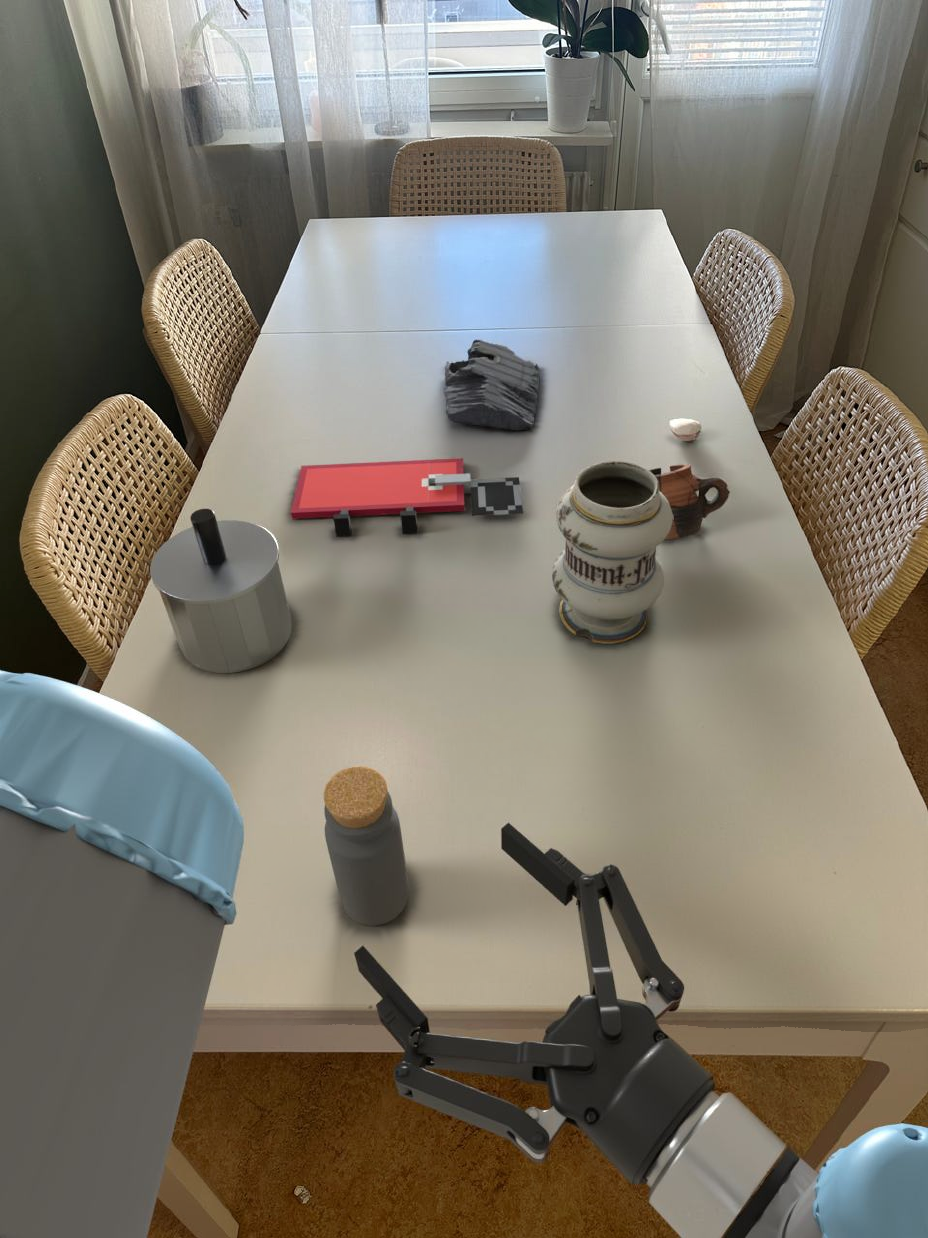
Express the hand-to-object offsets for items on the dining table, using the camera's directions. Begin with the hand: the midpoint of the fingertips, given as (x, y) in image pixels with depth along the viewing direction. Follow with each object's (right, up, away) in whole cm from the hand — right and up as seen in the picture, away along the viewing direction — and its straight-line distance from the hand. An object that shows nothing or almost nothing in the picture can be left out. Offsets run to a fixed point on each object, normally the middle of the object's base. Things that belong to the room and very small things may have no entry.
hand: (436, 893), depth 61 cm
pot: (-24, +18, +37) cm, 47 cm away
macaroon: (+34, +46, +64) cm, 86 cm away
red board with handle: (-5, +35, +54) cm, 65 cm away
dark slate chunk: (+6, +54, +74) cm, 91 cm away
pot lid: (-24, +25, +29) cm, 46 cm away
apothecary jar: (+18, +20, +37) cm, 46 cm away
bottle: (-6, -4, +13) cm, 15 cm away
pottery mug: (+29, +32, +50) cm, 66 cm away
